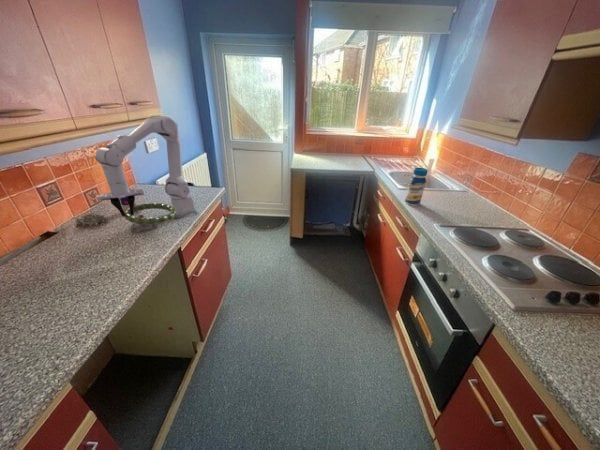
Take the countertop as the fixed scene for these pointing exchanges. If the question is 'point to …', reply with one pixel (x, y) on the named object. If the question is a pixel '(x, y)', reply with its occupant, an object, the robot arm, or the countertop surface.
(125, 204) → the energy drink
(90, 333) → the countertop surface
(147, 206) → the ring
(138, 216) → the ring stand
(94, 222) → the egg carton
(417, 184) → the beverage bottle
